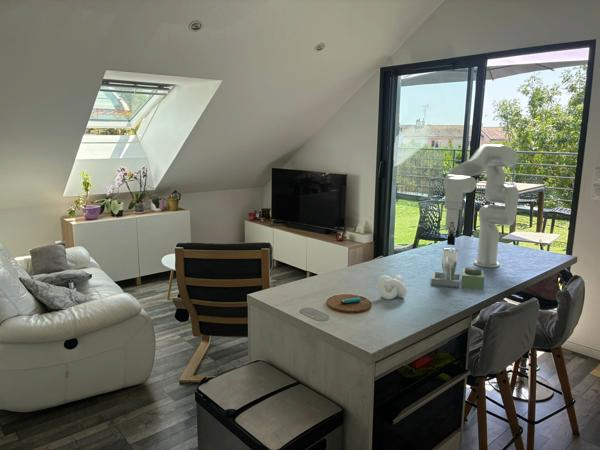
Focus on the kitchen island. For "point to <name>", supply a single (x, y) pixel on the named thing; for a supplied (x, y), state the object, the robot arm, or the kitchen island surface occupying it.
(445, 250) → the beer glass
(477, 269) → the push button box
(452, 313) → the kitchen island surface
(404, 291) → the white knot sculpture
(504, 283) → the kitchen island surface
